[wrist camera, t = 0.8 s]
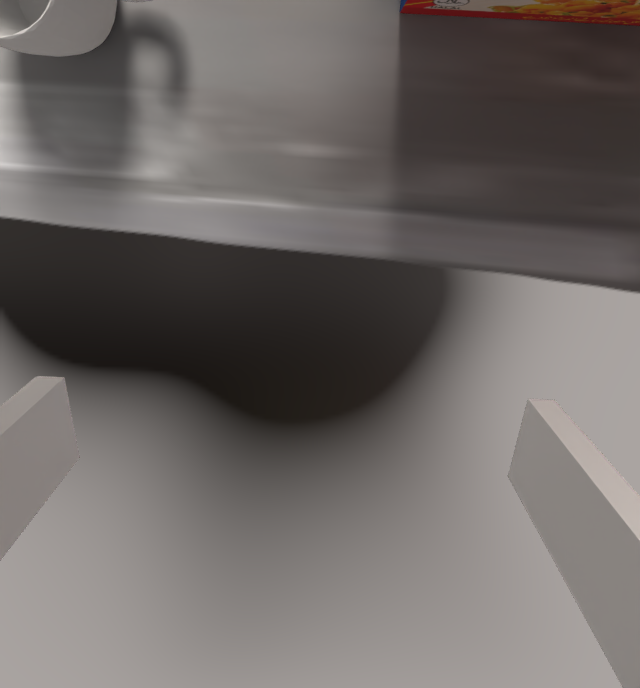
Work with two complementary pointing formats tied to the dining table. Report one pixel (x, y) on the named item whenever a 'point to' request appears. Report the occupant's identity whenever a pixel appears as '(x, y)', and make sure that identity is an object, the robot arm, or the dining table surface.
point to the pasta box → (533, 10)
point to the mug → (56, 25)
